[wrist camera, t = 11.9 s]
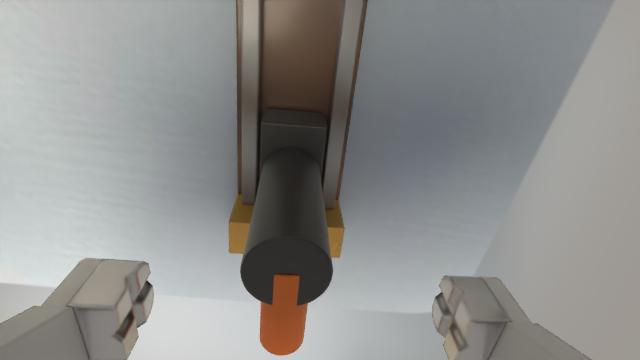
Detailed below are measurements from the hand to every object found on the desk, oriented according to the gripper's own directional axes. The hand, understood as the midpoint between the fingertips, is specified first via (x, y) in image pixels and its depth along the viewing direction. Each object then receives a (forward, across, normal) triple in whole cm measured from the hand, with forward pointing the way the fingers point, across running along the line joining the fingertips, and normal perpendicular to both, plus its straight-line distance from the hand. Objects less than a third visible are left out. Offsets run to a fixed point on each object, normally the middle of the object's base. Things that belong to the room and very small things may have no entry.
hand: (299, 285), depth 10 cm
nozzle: (+10, 0, +1) cm, 10 cm away
